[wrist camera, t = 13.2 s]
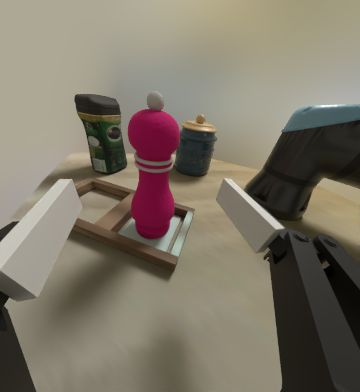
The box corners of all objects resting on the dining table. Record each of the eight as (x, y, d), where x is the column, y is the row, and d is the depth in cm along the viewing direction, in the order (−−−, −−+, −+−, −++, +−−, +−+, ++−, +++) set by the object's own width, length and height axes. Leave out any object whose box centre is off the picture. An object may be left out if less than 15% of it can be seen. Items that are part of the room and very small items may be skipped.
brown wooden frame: (94, 184, 33) (92, 177, 32) (193, 215, 29) (194, 209, 28) (37, 216, 23) (31, 207, 22) (174, 271, 19) (175, 264, 18)
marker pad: (144, 206, 29) (144, 205, 29) (181, 218, 28) (181, 217, 27) (118, 236, 22) (118, 235, 22) (165, 254, 21) (165, 253, 21)
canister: (183, 159, 56) (190, 111, 46) (211, 168, 53) (226, 118, 42) (167, 168, 47) (172, 110, 36) (201, 180, 43) (217, 119, 32)
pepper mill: (125, 222, 24) (103, 82, 13) (157, 207, 29) (162, 94, 17) (146, 250, 20) (142, 85, 9) (179, 228, 25) (205, 99, 13)
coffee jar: (112, 160, 46) (101, 94, 36) (131, 166, 44) (125, 98, 34) (87, 169, 39) (63, 89, 28) (108, 177, 37) (91, 95, 26)
